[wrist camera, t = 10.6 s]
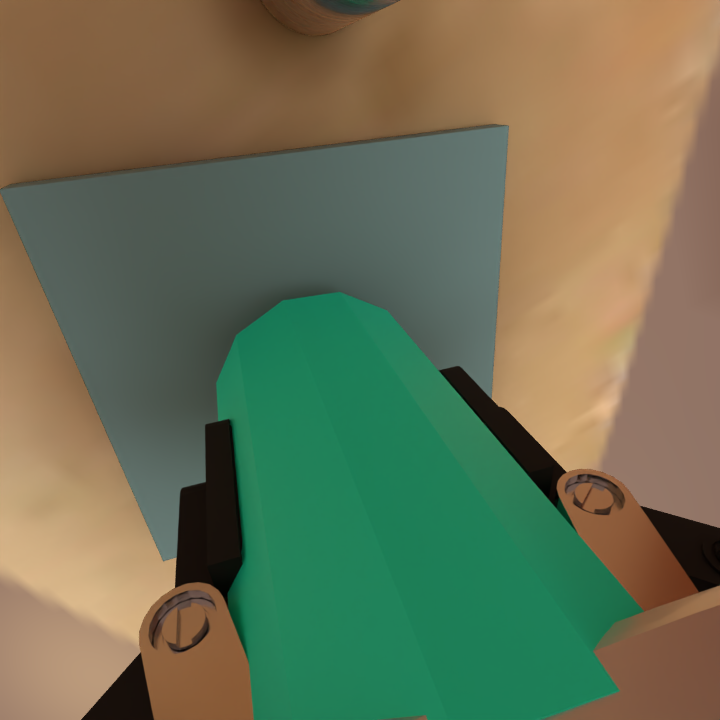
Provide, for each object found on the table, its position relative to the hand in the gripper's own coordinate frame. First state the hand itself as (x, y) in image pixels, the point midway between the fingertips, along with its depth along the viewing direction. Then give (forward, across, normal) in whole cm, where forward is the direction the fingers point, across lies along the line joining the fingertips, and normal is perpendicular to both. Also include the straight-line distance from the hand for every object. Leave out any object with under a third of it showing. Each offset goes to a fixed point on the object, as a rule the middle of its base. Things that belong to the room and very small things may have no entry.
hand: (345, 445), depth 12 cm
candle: (+3, 0, 0) cm, 3 cm away
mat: (+5, 0, 0) cm, 5 cm away
